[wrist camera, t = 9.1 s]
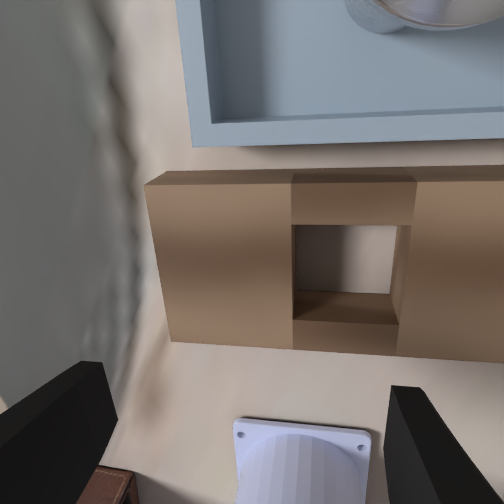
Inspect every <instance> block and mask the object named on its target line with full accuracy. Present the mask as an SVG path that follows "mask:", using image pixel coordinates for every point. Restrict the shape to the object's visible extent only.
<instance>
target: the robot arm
mask: <svg viewBox="0 0 504 504" xmlns="http://www.w3.org/2000/svg"><path fill="white" fill-rule="evenodd" d="M117 421H118V418H117V414H116V411H115V407H114V403H113V400H112V396H111V392H110V389H109V385H108V382H107V378H106V374H105V371H104V367H103V364H102V362H90V361H80V362H79V363H77V364H75V365H74V366H72V367H70V368H69V369H67V370H66V371H64V372H63V373H61V374H60V375H58V376H57V377H55V378H54V379H52V380H51V381H49V382H48V383H46V384H45V385H43V386H42V387H40V388H39V389H37V390H36V391H34V392H33V393H31V394H30V395H28V396H27V397H25V398H24V399H22V400H21V401H20V402H18V403H17V404H15V405H14V406H12V407H11V408H9V409H8V410H6V411H5V412H3V413H2V414H0V504H76V503H77V501H78V499H79V497H80V496H81V494H82V492H83V491H84V489H85V487H86V485H87V483H88V482H89V480H90V478H91V476H92V475H93V473H94V471H95V469H96V468H97V466H98V464H99V462H100V460H101V458H102V456H103V454H104V452H105V449H106V447H107V445H108V443H109V440H110V438H111V436H112V433H113V431H114V428H115V426H116V423H117ZM233 434H234V444H235V453H236V462H237V472H238V481H239V484H238V489H237V494H236V499H235V504H365V498H366V489H367V480H368V471H369V461H370V452H371V443H372V441H371V435H370V434H369V433H368V432H367V431H364V430H356V429H346V428H336V427H326V426H316V425H306V424H296V423H286V422H276V421H266V420H256V419H246V418H238V419H236V420H235V421H234V424H233ZM383 450H384V459H385V468H386V477H387V486H388V494H389V500H390V504H504V502H503V501H502V499H501V498H500V497H499V495H498V494H497V493H496V492H495V490H494V489H493V488H492V487H491V485H490V484H489V483H488V481H487V480H486V479H485V477H484V476H483V475H482V473H481V472H480V471H479V469H478V468H477V467H476V465H475V464H474V463H473V462H472V460H471V459H470V458H469V456H468V455H467V453H466V452H465V451H464V449H463V448H462V447H461V445H460V444H459V442H458V441H457V440H456V438H455V437H454V435H453V434H452V433H451V431H450V430H449V428H448V427H447V425H446V424H445V422H444V421H443V420H442V418H441V417H440V415H439V414H438V412H437V411H436V409H435V408H434V406H433V405H432V403H431V402H430V400H429V399H428V397H427V395H426V394H425V392H424V391H423V390H422V389H421V388H420V387H407V386H395V385H391V392H390V400H389V408H388V415H387V423H386V431H385V439H384V447H383Z"/></svg>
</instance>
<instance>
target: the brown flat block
mask: <svg viewBox="0 0 504 504" xmlns="http://www.w3.org/2000/svg"><path fill="white" fill-rule="evenodd" d="M144 191H145V197H146V202H147V208H148V214H149V219H150V225H151V231H152V236H153V242H154V248H155V253H156V259H157V265H158V270H159V276H160V282H161V287H162V293H163V299H164V304H165V310H166V316H167V321H168V327H169V333H170V338H171V342H185V343H201V344H216V345H231V346H247V347H262V348H277V349H292V350H308V351H323V352H338V353H354V354H369V355H384V356H400V357H415V358H430V359H446V360H461V361H476V362H491V363H504V165H476V166H423V167H369V168H315V169H262V170H208V171H167V172H165V173H163V174H162V175H160V176H158V177H157V178H155V179H153V180H152V181H150V182H148V183H147V184H145V185H144ZM296 225H397V232H396V241H395V250H394V259H393V268H392V277H391V286H390V294H371V293H344V292H318V291H296Z"/></svg>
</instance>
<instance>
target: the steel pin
mask: <svg viewBox="0 0 504 504" xmlns="http://www.w3.org/2000/svg"><path fill="white" fill-rule="evenodd" d="M344 2H345V6H346V8H347V11H348V13H349V15H350V16H351V18H352V19H353V20H354V22H355V23H356V24H358V25H359V26H360V27H361V28H363V29H365V30H367V31H369V32H373V33H379V34H385V33H392V32H395V31H398V30H400V29H403V28H404V27H406V26H410V27H413V28H418V29H425V30H455V29H462V28H468V27H472V26H475V25H479V24H482V23H486V22H489V21H492V20H494V19H497V18H500V17H503V16H504V0H344Z"/></svg>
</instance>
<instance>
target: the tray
mask: <svg viewBox="0 0 504 504" xmlns="http://www.w3.org/2000/svg"><path fill="white" fill-rule="evenodd" d="M175 2H176V10H177V19H178V27H179V36H180V44H181V53H182V62H183V70H184V79H185V87H186V96H187V104H188V113H189V121H190V130H191V139H192V147H224V146H257V145H290V144H323V143H357V142H390V141H423V140H457V139H490V138H504V16H503V17H500V18H497V19H494V20H492V21H489V22H486V23H482V24H479V25H475V26H472V27H468V28H462V29H455V30H425V29H418V28H413V27H410V26H406V27H404V28H403V29H400V30H398V31H395V32H392V33H385V34H379V33H373V32H369V31H367V30H365V29H363V28H361V27H360V26H359V25H358V24H356V23H355V22H354V20H353V19H352V18H351V16H350V15H349V13H348V11H347V8H346V6H345V2H344V0H175Z"/></svg>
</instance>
